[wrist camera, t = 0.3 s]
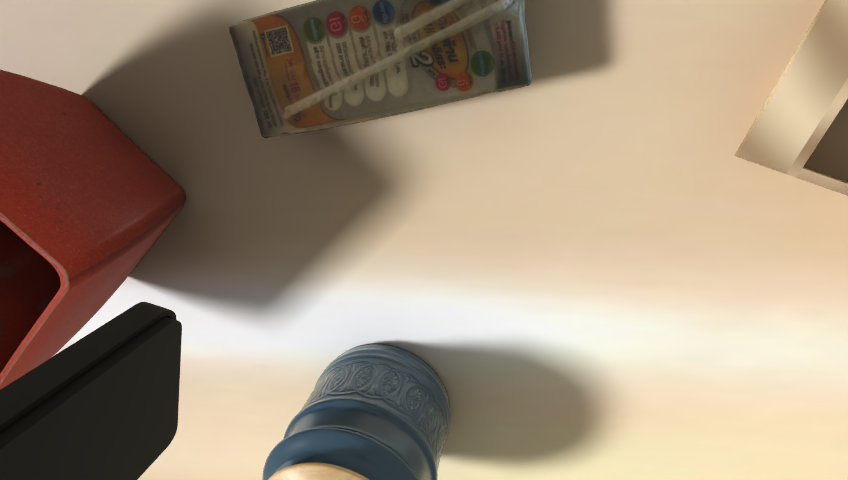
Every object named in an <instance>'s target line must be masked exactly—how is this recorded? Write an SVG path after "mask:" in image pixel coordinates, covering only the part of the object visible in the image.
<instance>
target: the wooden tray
mask: <svg viewBox="0 0 848 480" xmlns="http://www.w3.org/2000/svg"><path fill="white" fill-rule="evenodd" d="M847 99H848V0H826V1H825V2H824V4H823V6H822V7H821V9H820V11H819V13H818V14H817V16H816V18H815V19H814V21H813V23H812V24H811V26H810V28H809V30H808V31H807V33H806V35H805V36H804V38H803V40H802V41H801V43H800V45H799V47H798V48H797V50H796V52H795V53H794V55H793V57H792V58H791V60H790V62H789V64H788V65H787V67H786V69H785V70H784V72H783V74H782V75H781V77H780V79H779V81H778V82H777V84H776V86H775V87H774V89H773V91H772V93H771V94H770V96H769V98H768V99H767V101H766V103H765V104H764V106H763V108H762V110H761V111H760V113H759V115H758V116H757V118H756V120H755V121H754V123H753V125H752V127H751V128H750V130H749V132H748V133H747V135H746V137H745V138H744V140H743V142H742V144H741V145H740V147H739V149H738V150H737V152H736V154H735V156H737V157H740V158H742V159H745V160H748V161H751V162H754V163H757V164H759V165H762V166H765V167H768V168H771V169H774V170H776V171H779V172H782V173H785V174H788V175H791V176H794V177H796V178H799V179H802V180H805V181H808V182H811V183H813V184H816V185H819V186H822V187H825V188H828V189H830V190H833V191H836V192H839V193H842V194H845V195H848V182H846V181H844V180H841V179H838V178H835V177H832V176H829V175H826V174H824V173H821V172H818V171H815V170H812V169H809V168H806V167H804V165H805V163H806V162H807V160H808V159H809V157H810V156H811V154H812V153H813V151H814V149H815V148H816V146H817V145H818V143H819V142H820V140H821V139H822V137H823V136H824V134H825V133H826V131H827V130H828V128H829V126H830V125H831V123H832V122H833V120H834V119H835V117H836V116H837V114H838V113H839V111H840V110H841V108H842V107H843V105H844V103H845V102H846V100H847Z"/></svg>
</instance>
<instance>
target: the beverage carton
mask: <svg viewBox="0 0 848 480" xmlns="http://www.w3.org/2000/svg"><path fill="white" fill-rule="evenodd" d="M524 11H525V0H317V1H313V2H309V3H305V4H301V5H298V6H294V7H290V8H287V9H283V10H279V11H275V12H271V13H268V14H265V15H262V16H258V17H254V18H251V19H248V20H245V21H242V22H240V23H237V24H233V25H230V26H229V31H230V34H231V37H232V40H233V43H234V46H235V49H236V52H237V55H238V59H239V63H240V66H241V69H242V73H243V77H244V81H245V83H246V86H247V90H248V93H249V95H250V98H251V100H252V103H253V106H254V110H255V114H256V118H257V122H258V125H259V128H260V131H261V135H262V137H264V138H268V137H272V136H282V135H290V134H296V133H302V132H308V131H314V130H319V129H325V128H331V127H337V126H342V125H347V124H353V123H358V122H363V121H368V120H372V119H378V118H383V117H388V116H392V115H397V114H402V113H407V112H411V111H416V110H420V109H424V108H429V107H433V106H437V105H442V104H446V103H450V102H455V101H459V100H463V99H467V98H472V97H476V96H480V95H483V94H486V93H491V92H501V91H505V90H509V89H515V88H520V87H524V86H528V85H530V84H531V77H532V72H531V68H530V59H529V51H528V38H527V30H526V23H525V15H524Z"/></svg>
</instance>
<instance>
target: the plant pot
mask: <svg viewBox="0 0 848 480" xmlns="http://www.w3.org/2000/svg"><path fill="white" fill-rule="evenodd" d="M184 203H185V195H184V192H183V191H182V189H181V188H180V187H179V186H178V185H177V184H176V183H175V182H174V181H173V180H171V179H170V178H169V177H168V176H167V175H166V174H165V173H164V172H163V171H162V170H161V169H160V168H159V167H158V166H157V165H156V164H155V163H154V162H153V161H152V160H150V159H149V158H148V157H147V156H146V155H145V154H144V153H143V152H142V151H141V150H140V149H139V148H138V147H137V146H136V145H135V144H134V143H133V142H132V141H131V140H130V139H129V138H128V137H126V136H125V135H124V134H123V133H122V132H121V131H120V130H119V129H118V128H117V127H116V126H115V125H114V124H113V123H112V122H111V121H110V120H109V119H108V118H107V117H106V116H104V115H103V114H102V113H101V112H100V111H99V110H98V109H97V108H96V107H95V106H94V105H93V104H92V103H91V102H90V101H89V100H88V99H87V98H85V97H84V96H82V95H79V94H76V93H74V92H71V91H68V90H66V89H63V88H60V87H56V86H53V85H50V84H47V83H44V82H41V81H37V80H34V79H31V78H28V77H25V76H21V75H18V74H14V73H10V72H7V71H3V70H0V390H1V389H2V388H4V387H5V386H7V385H9V384H10V383H12V382H13V381H15V380H17V379H18V378H20V377H21V376H23V375H24V374H26V373H28V372H29V371H31V370H32V369H34V368H36V367H37V366H39V365H40V364H42V363H44V362H45V361H47V360H48V359H50V358H51V357H53V356H54V355H55V354H56V353H57V352H58V351H59V350H60V349H61V348H62V347H63V346H64V345H65V344H66V343H67V342H68V341H69V340H70V339H71V338H72V337H73V336H74V335H75V334H76V333H77V332H78V331H79V330H80V329H81V328H82V327H83V326H84V325H85V324H86V323H87V322H88V321H89V320H90V319H91V318H92V317H93V316H94V315H95V314H96V312H97V311H98V310H99V309H100V308H101V307H102V306H103V305H104V304H105V303H106V301H107V300H108V299H109V298H110V297H111V296H112V295H113V293H114V292H115V291H116V290H117V289H118V288H119V287H120V285H121V284H122V283H123V282H124V280H125V279H126V278H127V277H128V276H129V274H130V273H131V272H132V270H133V269H134V268H135V267H136V265H137V264H138V263H139V261H140V260H141V259H142V258H143V256H144V255H145V254H146V253H147V251H148V250H149V249H150V247H151V246H152V245H153V244H154V242H155V241H156V240H157V238H158V237H159V236H160V235H161V233H162V232H163V231H164V230H165V228H166V227H167V226H168V224H169V223H170V222H171V221H172V219H173V218H174V217H175V216H176V214H177V213H178V212H179V210H180V209H181V208H182V207H183V205H184Z"/></svg>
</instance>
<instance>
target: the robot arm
mask: <svg viewBox="0 0 848 480" xmlns="http://www.w3.org/2000/svg"><path fill="white" fill-rule="evenodd" d="M181 335H182V325H181V323H180V322H179V321H177V320H176V315H175V313H174V312H173V311H171V310H169V309H166V308H163V307H160V306H157V305H154V304H151V303H147V302H140V303H138V304H136V305H134V306H133V307H131V308H130V309H128V310H127V311H125V312H123V313H122V314H120V315H119V316H117V317H115V318H114V319H112V320H111V321H109V322H107V323H106V324H104V325H103V326H101V327H99V328H98V329H96V330H95V331H93V332H91V333H90V334H88V335H87V336H85V337H83V338H82V339H80V340H79V341H77V342H76V343H74V344H72V345H71V346H69V347H68V348H66V349H64V350H63V351H61V352H60V353H58V354H56V355H55V356H53V357H52V358H50V359H48V360H47V361H45V362H44V363H42V364H40V365H39V366H37V367H36V368H34V369H32V370H31V371H29V372H28V373H26V374H24V375H23V376H21V377H20V378H18V379H17V380H15V381H13V382H12V383H10V384H9V385H7V386H5V387H4V388H2V389H1V390H0V480H137V479H138V478H139V477H140V476H141V475H142V474H143V473H144V472H145V471H146V470H147V468H148V467H149V466H150V465H151V464H152V463H153V462H154V461H155V460H156V459H157V458H158V457H159V455H160V454H161V453H162V452H163V451H164V450H165V449H166V448H167V447H168V446H169V444H170V443H171V441H172V440H173V438H174V436H175V433H176V430H177V424H178V402H179V379H180V357H181Z"/></svg>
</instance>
